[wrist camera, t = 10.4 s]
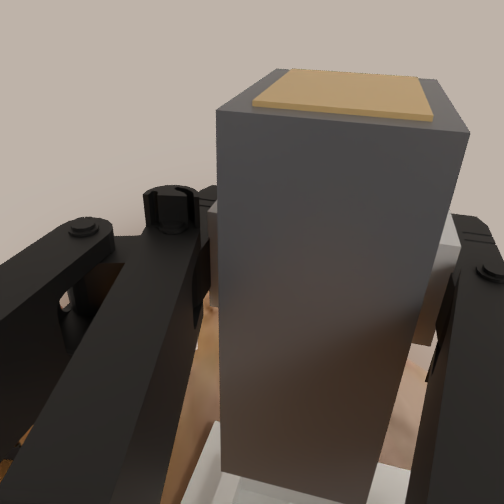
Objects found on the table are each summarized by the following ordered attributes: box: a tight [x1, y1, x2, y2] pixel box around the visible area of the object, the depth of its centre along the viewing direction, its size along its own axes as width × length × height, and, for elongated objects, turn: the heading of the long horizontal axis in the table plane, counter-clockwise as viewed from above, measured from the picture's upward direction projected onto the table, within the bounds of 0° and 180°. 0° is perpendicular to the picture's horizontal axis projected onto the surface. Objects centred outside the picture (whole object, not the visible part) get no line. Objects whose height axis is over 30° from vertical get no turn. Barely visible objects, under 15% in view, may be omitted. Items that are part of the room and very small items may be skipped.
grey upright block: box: [216, 69, 470, 504], centre depth 12 cm, size 4×5×10 cm
